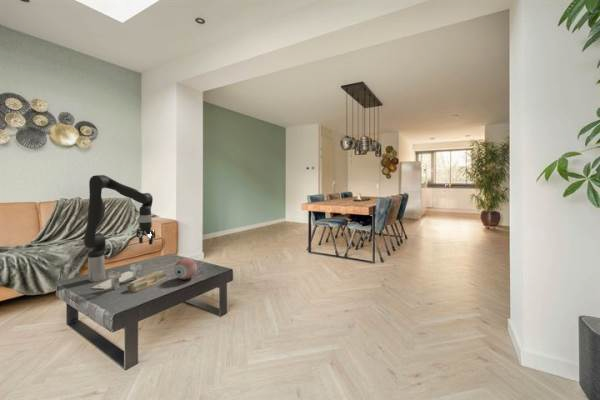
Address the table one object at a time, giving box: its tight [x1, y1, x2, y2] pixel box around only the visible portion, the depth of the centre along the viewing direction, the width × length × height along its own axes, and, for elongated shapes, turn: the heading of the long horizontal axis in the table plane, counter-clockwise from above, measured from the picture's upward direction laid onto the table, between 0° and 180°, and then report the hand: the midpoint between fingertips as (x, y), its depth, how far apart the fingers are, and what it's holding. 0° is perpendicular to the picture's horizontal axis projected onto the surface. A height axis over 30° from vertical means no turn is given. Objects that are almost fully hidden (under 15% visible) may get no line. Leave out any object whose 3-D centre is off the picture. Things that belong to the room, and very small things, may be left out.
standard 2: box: [129, 263, 143, 281], centre depth 187 cm, size 6×4×11 cm, turn 76°
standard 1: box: [108, 270, 122, 291], centre depth 172 cm, size 6×4×11 cm, turn 76°
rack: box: [125, 273, 168, 293], centre depth 180 cm, size 9×26×3 cm, turn 166°
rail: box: [129, 270, 164, 290], centre depth 180 cm, size 4×24×5 cm, turn 166°
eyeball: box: [173, 257, 198, 280], centre depth 189 cm, size 15×15×15 cm
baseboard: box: [90, 270, 133, 290], centre depth 186 cm, size 31×3×12 cm
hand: (145, 243), depth 186 cm, fingers open, 8 cm apart
